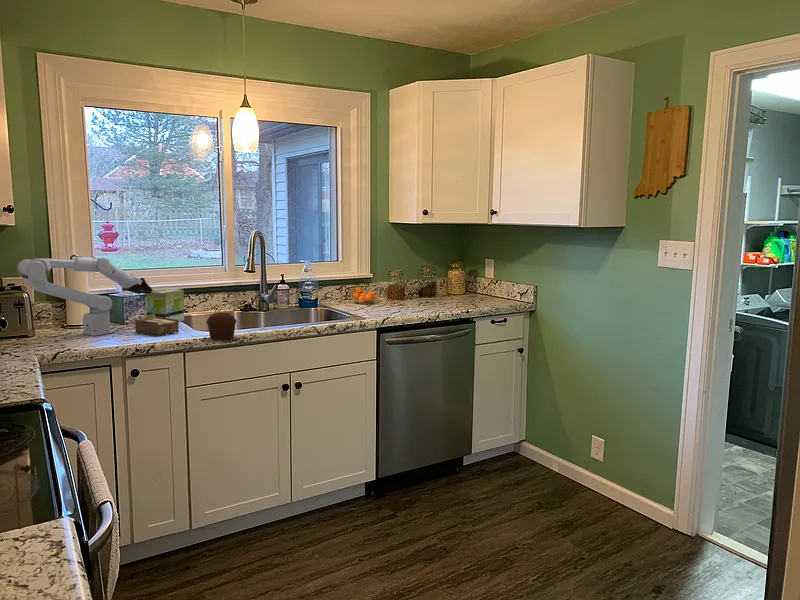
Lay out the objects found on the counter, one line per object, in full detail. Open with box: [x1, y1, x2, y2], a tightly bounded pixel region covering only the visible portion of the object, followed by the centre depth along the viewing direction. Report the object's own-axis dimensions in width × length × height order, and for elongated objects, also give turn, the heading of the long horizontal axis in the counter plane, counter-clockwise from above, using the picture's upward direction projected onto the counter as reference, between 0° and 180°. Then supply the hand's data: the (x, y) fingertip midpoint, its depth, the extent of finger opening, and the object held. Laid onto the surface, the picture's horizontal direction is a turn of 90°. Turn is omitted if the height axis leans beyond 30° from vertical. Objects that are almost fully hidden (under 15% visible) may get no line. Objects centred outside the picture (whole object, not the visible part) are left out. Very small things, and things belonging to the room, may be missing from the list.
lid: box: [140, 315, 177, 326], centre depth 251 cm, size 8×14×2 cm, turn 59°
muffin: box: [205, 311, 237, 341], centre depth 243 cm, size 12×11×10 cm
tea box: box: [145, 288, 185, 322], centre depth 277 cm, size 15×10×15 cm
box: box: [134, 317, 180, 337], centre depth 252 cm, size 10×14×6 cm
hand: (145, 291), depth 262 cm, fingers open, 7 cm apart
